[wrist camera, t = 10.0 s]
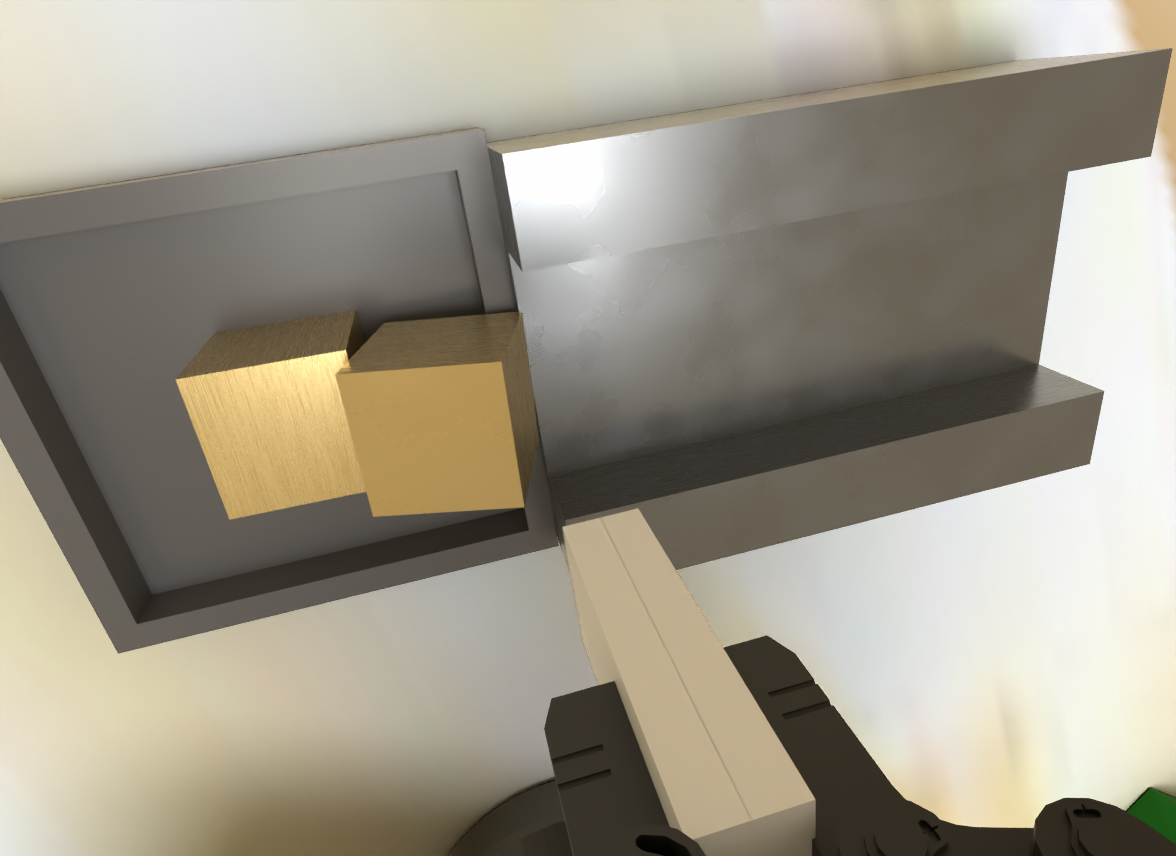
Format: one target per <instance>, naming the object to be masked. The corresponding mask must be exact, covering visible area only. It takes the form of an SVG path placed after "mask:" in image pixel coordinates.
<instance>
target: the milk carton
mask: <svg viewBox="0 0 1176 856" xmlns="http://www.w3.org/2000/svg"><path fill="white" fill-rule="evenodd" d="M1127 813H1129V814H1131V815H1133V816H1134V817H1136V818H1138V819H1140V820H1142V821H1143V822H1145V823H1146V824H1148V825H1149V826H1150V827H1152V828H1153V829H1155V830H1156V831H1157V832H1159V833H1160V834H1162V835H1163V836H1165V837H1166V838H1167V839H1169V840H1170V841H1172V842H1173V843H1174V844H1176V798H1175V797H1173V796H1170V795H1168V794H1165V793H1162V792H1160V791H1157V790H1155V789H1152V788H1149V790H1148V791H1147V792H1146V793H1145V794H1144V795H1143V796H1142V797H1141V798H1140V799H1139V800H1138V801H1137V802H1136V803H1135V804H1134V805H1133V806H1132V807H1131V808H1130V809H1129V810H1128V811H1127Z"/></svg>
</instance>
